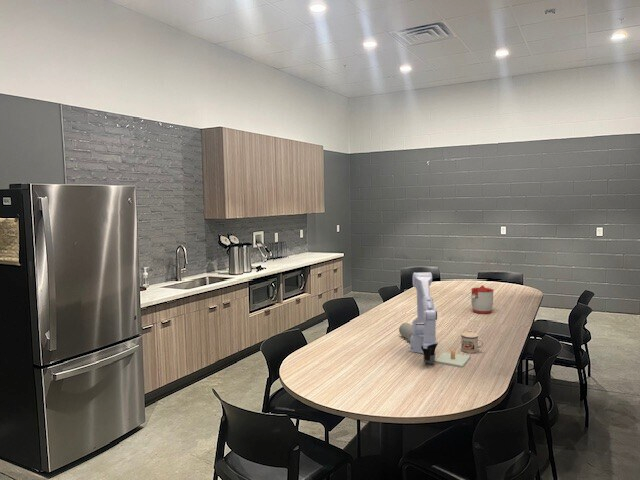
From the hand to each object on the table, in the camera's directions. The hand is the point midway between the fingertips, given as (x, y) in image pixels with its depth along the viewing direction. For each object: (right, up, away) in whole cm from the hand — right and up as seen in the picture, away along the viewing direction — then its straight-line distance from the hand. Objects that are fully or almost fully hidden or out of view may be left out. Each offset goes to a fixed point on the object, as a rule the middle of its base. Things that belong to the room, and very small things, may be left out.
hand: (429, 358), depth 242 cm
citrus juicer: (+62, +7, +105) cm, 122 cm away
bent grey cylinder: (+1, +1, +41) cm, 41 cm away
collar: (0, -2, 0) cm, 2 cm away
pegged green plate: (+13, -2, +5) cm, 14 cm away
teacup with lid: (+28, -1, +19) cm, 34 cm away
